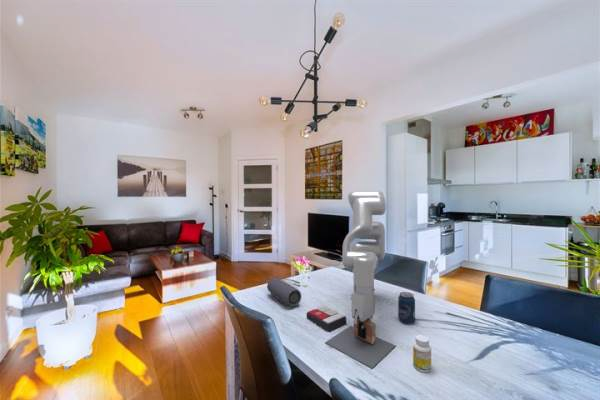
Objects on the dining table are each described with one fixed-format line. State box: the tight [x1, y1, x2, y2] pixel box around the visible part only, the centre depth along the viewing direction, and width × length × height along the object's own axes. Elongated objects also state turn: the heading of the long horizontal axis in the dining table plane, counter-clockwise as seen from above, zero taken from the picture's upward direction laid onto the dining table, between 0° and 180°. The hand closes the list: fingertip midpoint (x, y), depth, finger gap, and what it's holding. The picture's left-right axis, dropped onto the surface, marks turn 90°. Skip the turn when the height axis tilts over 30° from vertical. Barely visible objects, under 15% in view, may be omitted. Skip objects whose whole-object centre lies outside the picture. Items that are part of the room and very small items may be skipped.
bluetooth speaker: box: [266, 277, 302, 307], centre depth 133 cm, size 23×9×10 cm, turn 34°
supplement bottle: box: [412, 334, 432, 373], centre depth 81 cm, size 5×5×10 cm
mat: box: [325, 325, 397, 370], centre depth 93 cm, size 17×20×1 cm
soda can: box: [397, 291, 416, 325], centre depth 110 cm, size 7×7×12 cm
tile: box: [353, 320, 377, 344], centre depth 95 cm, size 3×8×7 cm, turn 44°
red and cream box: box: [306, 305, 347, 333], centre depth 111 cm, size 11×4×15 cm
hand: (364, 334), depth 95 cm, fingers open, 2 cm apart
